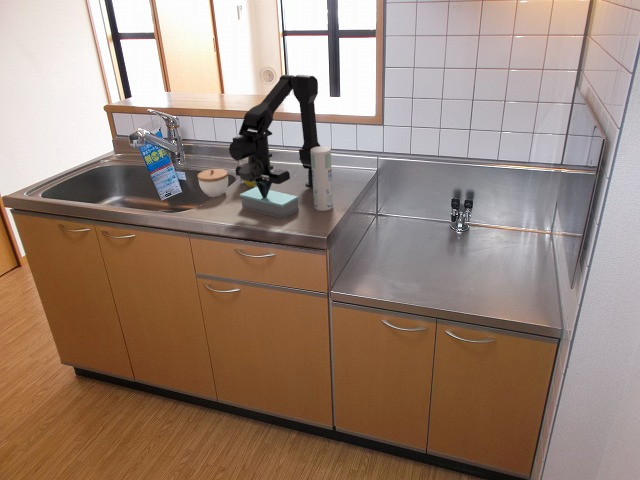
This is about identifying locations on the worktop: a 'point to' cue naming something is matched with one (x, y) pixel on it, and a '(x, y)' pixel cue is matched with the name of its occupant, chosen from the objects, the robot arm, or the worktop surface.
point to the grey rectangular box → (270, 208)
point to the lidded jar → (213, 182)
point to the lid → (270, 197)
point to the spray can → (322, 178)
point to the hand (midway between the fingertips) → (264, 197)
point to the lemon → (250, 183)
